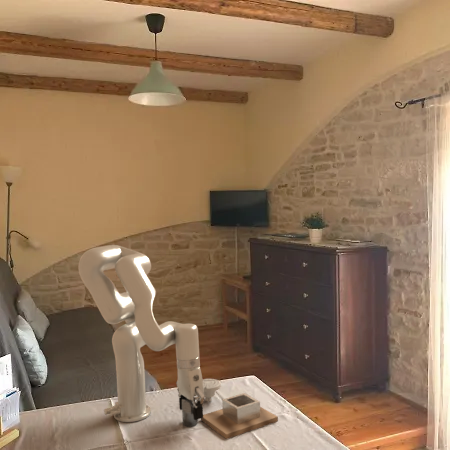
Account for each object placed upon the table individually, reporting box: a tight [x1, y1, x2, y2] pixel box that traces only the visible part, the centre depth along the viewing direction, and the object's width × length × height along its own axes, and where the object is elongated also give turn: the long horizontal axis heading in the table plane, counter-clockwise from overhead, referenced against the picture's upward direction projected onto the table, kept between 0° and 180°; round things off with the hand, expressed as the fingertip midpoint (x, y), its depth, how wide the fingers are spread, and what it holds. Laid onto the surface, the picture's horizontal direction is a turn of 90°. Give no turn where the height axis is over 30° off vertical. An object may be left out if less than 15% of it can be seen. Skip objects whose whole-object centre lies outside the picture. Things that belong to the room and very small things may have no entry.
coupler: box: [181, 396, 199, 428], centre depth 159 cm, size 5×5×8 cm
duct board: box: [200, 392, 279, 440], centre depth 160 cm, size 20×16×6 cm
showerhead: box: [202, 377, 222, 402], centre depth 177 cm, size 9×7×10 cm
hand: (191, 413), depth 159 cm, fingers open, 9 cm apart
